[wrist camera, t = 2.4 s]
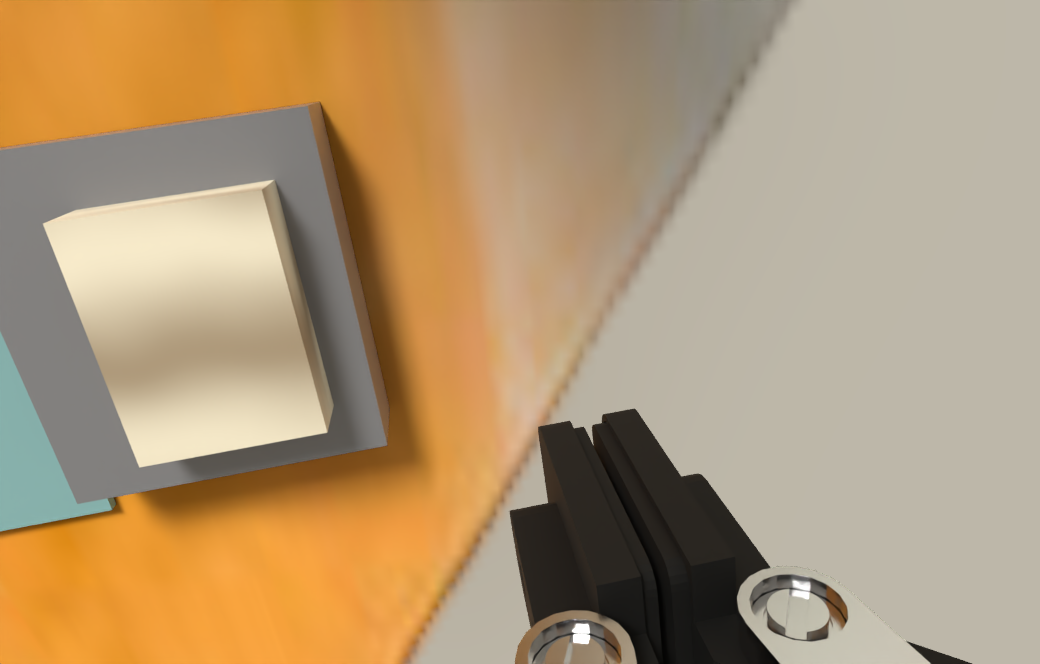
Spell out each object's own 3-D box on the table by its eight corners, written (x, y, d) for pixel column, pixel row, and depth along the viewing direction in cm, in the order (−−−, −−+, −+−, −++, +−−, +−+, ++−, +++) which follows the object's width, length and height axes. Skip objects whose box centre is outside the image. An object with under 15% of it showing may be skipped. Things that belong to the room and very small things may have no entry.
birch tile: (75, 210, 21) (42, 223, 19) (274, 179, 21) (261, 190, 20) (160, 436, 24) (139, 467, 22) (333, 405, 24) (327, 432, 23)
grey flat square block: (-16, 150, 23) (-76, 161, 20) (319, 101, 24) (307, 106, 21) (111, 459, 27) (77, 504, 24) (389, 408, 28) (387, 445, 25)
